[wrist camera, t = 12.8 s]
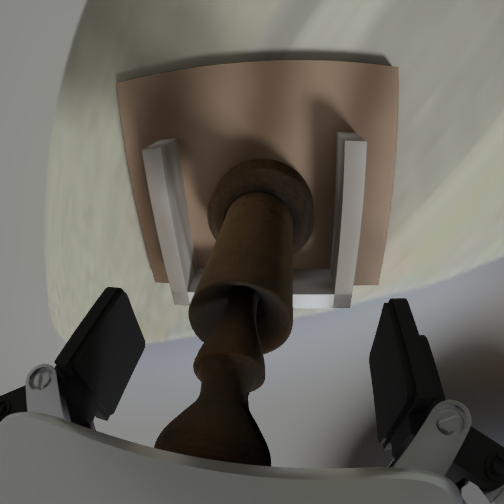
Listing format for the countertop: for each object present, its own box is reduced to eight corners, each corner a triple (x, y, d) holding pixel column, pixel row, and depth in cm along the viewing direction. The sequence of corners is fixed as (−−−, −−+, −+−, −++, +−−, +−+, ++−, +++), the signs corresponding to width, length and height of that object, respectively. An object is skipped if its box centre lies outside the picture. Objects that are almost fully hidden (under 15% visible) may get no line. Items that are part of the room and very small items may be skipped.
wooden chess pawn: (222, 249, 23) (136, 508, 8) (206, 163, 20) (16, 419, 4) (314, 245, 22) (330, 529, 6) (310, 154, 19) (372, 476, 3)
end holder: (393, 67, 16) (416, 65, 12) (375, 277, 24) (386, 310, 20) (123, 82, 18) (91, 85, 15) (159, 275, 26) (142, 305, 23)
